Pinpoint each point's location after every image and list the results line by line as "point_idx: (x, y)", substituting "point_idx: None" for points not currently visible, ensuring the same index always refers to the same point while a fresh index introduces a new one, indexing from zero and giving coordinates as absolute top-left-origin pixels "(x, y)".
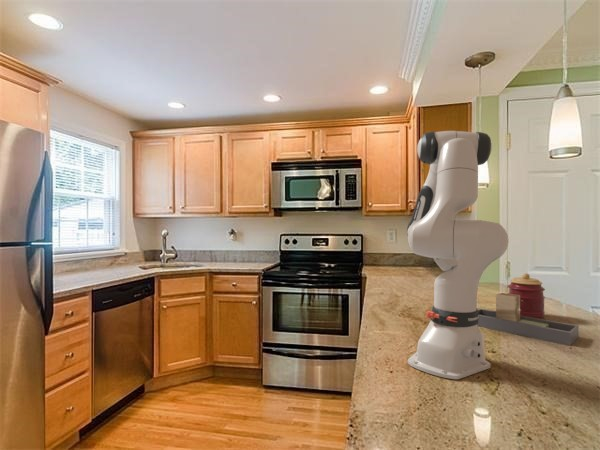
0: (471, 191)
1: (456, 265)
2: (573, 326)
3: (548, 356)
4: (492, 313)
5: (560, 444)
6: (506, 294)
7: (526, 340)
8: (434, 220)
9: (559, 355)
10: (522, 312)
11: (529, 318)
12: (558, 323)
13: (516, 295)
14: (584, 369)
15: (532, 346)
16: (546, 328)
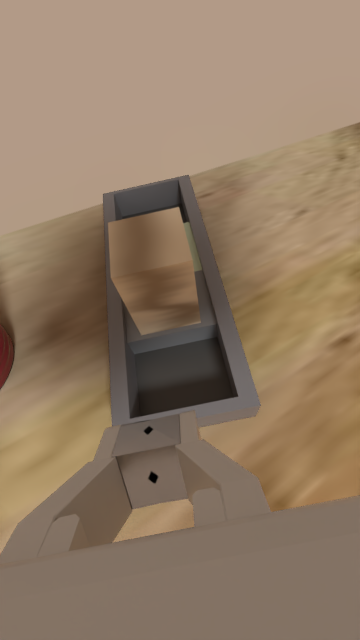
0: None
1: (322, 512)
2: (114, 198)
3: (302, 185)
4: (129, 373)
5: None
6: (136, 249)
7: (241, 244)
8: None
9: (274, 183)
10: (2, 344)
11: None
12: (115, 217)
13: (123, 225)
14: (303, 148)
15: (272, 220)
16: (197, 204)
